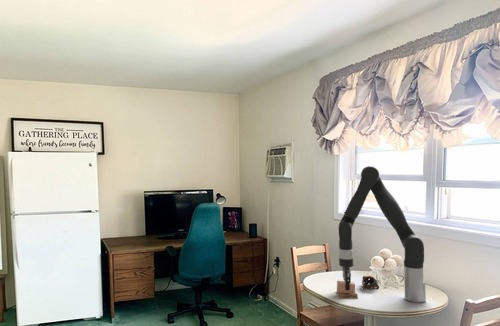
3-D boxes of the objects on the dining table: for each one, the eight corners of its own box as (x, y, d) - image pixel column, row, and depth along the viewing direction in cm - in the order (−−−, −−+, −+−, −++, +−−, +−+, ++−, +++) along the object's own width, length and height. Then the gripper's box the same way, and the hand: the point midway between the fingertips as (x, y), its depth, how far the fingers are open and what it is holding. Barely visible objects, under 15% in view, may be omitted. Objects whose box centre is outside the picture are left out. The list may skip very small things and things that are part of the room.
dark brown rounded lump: (383, 290, 201) (380, 280, 198) (370, 299, 199) (367, 289, 196) (369, 279, 212) (366, 269, 209) (357, 288, 210) (353, 277, 207)
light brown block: (353, 291, 196) (353, 282, 196) (354, 293, 192) (355, 284, 192) (336, 289, 197) (337, 280, 197) (337, 291, 193) (338, 282, 193)
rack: (354, 292, 199) (354, 288, 199) (357, 298, 189) (357, 294, 189) (336, 291, 200) (336, 288, 200) (339, 298, 190) (339, 294, 190)
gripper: (355, 260, 187) (356, 293, 187) (350, 254, 201) (351, 284, 201) (340, 260, 188) (341, 293, 188) (337, 253, 202) (338, 284, 202)
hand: (346, 288), depth 194 cm, fingers open, 3 cm apart
